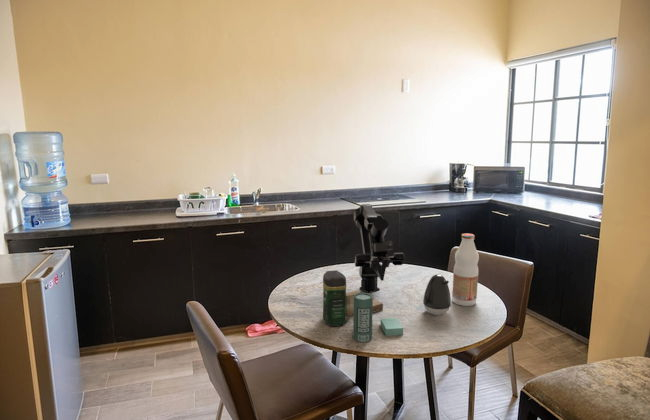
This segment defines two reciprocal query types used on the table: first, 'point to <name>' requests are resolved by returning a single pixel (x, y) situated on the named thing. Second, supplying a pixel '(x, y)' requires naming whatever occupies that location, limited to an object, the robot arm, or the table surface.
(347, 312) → the tan wooden block
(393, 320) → the mint green block
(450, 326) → the table surface
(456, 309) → the table surface
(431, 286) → the dark rounded piece
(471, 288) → the fruit juice
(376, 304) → the brown wooden block
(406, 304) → the table surface
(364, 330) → the can
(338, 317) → the coffee jar
